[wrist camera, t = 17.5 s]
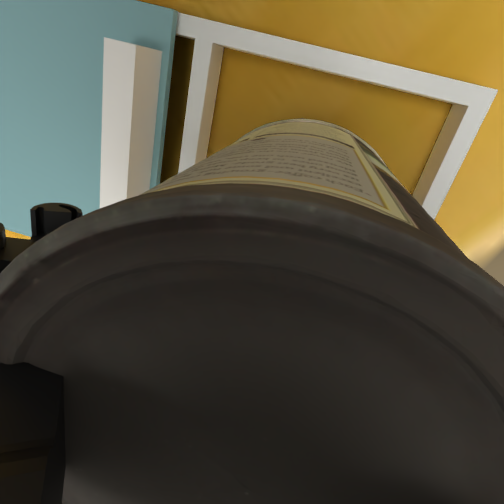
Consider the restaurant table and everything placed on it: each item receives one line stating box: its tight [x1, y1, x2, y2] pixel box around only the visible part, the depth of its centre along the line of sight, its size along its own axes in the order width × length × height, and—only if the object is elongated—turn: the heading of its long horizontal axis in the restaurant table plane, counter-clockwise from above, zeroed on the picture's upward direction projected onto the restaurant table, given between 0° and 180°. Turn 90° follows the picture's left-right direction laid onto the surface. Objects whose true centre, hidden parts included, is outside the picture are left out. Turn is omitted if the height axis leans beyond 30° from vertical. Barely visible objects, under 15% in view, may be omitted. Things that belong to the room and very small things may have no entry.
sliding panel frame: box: [175, 12, 498, 219], centre depth 24 cm, size 16×34×2 cm, turn 77°
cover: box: [0, 0, 178, 237], centre depth 21 cm, size 16×16×4 cm
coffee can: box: [0, 119, 504, 504], centre depth 12 cm, size 10×10×14 cm
